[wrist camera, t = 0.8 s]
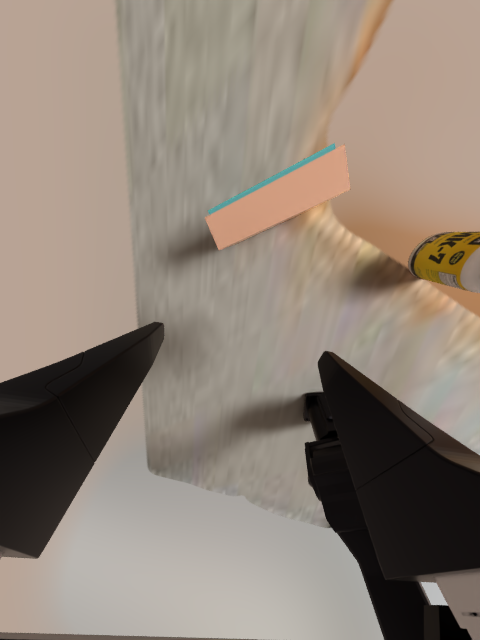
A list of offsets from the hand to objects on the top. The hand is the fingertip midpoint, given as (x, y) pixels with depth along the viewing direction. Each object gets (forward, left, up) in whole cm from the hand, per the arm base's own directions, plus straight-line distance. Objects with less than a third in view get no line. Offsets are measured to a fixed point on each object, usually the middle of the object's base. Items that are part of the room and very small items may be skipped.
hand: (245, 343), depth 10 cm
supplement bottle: (+1, -20, -14) cm, 25 cm away
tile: (+7, -2, -14) cm, 16 cm away
